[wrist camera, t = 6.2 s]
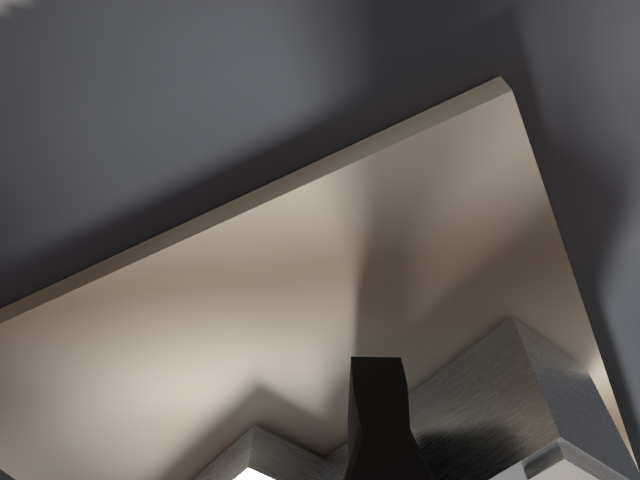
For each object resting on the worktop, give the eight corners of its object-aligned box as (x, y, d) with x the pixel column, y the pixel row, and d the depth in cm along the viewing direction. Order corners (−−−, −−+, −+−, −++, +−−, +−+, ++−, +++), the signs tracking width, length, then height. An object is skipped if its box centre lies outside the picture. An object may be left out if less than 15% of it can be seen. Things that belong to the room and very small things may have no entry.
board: (656, 533, 18) (668, 558, 17) (244, 621, 22) (241, 644, 22) (500, 76, 10) (512, 90, 9) (-102, 356, 14) (-123, 379, 14)
